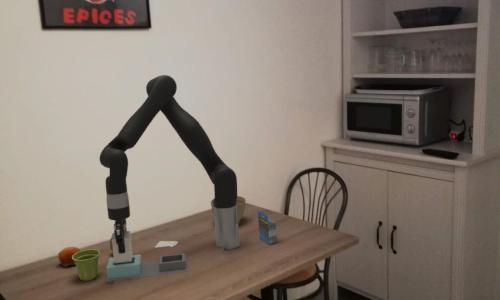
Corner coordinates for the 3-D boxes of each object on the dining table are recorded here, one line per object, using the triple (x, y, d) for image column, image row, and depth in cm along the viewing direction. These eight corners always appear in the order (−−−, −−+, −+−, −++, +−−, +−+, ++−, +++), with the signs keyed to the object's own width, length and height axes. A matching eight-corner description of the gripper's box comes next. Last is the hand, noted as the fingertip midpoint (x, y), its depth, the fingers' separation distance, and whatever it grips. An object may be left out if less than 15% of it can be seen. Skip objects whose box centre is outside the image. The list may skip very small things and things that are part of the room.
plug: (132, 256, 168) (130, 230, 166) (131, 261, 164) (129, 234, 162) (115, 258, 167) (113, 232, 165) (114, 263, 163) (111, 236, 161)
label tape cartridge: (277, 242, 188) (275, 214, 186) (268, 244, 186) (267, 215, 184) (266, 236, 196) (265, 208, 194) (258, 238, 194) (257, 210, 192)
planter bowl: (211, 218, 222) (210, 197, 220) (244, 216, 223) (243, 194, 221) (212, 230, 206) (211, 207, 204) (248, 227, 207) (247, 204, 205)
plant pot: (102, 280, 162) (99, 257, 161) (73, 285, 160) (70, 261, 158) (102, 269, 171) (100, 247, 169) (75, 274, 168) (73, 251, 167)
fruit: (60, 268, 170) (57, 247, 173) (60, 271, 177) (57, 251, 179) (83, 263, 174) (80, 242, 176) (82, 266, 181) (78, 247, 183)
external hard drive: (178, 244, 193) (169, 257, 181) (159, 244, 194) (149, 257, 182) (177, 241, 192) (169, 253, 180) (159, 241, 193) (148, 253, 181)
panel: (186, 260, 175) (185, 248, 174) (187, 274, 164) (186, 261, 163) (110, 268, 171) (109, 256, 170) (106, 283, 160) (104, 270, 159)
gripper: (127, 209, 155) (131, 257, 158) (130, 198, 169) (135, 242, 172) (104, 211, 154) (109, 259, 157) (109, 199, 168) (114, 244, 171)
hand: (122, 250), depth 165 cm, fingers closed on plug, 4 cm apart
